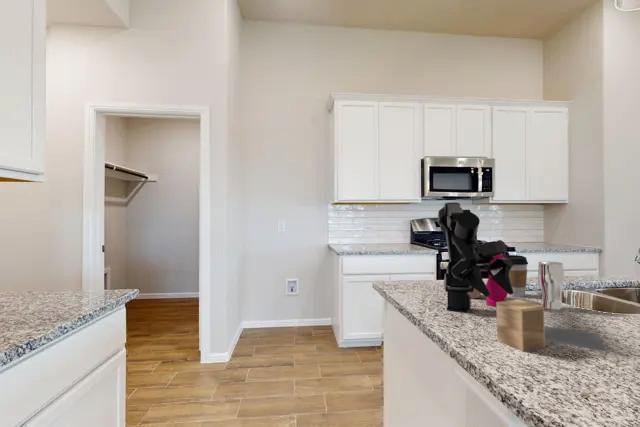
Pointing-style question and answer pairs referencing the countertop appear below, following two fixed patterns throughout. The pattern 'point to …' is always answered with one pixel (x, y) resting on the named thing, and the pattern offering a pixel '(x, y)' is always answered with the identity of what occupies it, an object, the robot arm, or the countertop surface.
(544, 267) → the white drink can
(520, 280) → the coffee cup
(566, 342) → the slate mat
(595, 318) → the countertop surface
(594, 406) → the countertop surface
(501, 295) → the pepper mill
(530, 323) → the cover box
